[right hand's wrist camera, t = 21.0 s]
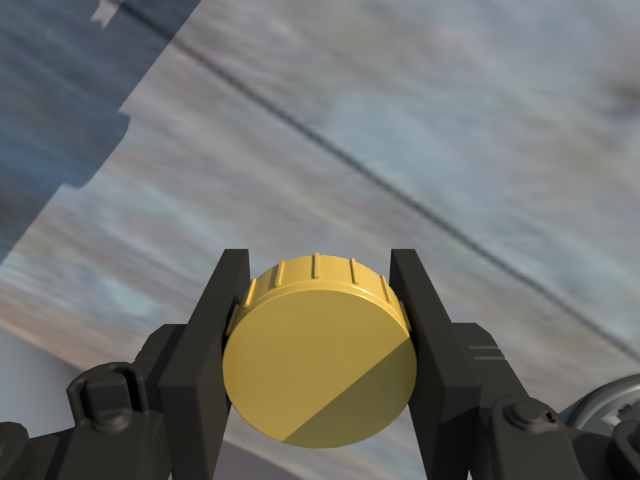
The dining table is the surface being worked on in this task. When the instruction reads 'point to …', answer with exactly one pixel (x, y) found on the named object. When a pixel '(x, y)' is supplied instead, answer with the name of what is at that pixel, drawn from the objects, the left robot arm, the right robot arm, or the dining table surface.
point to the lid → (319, 353)
